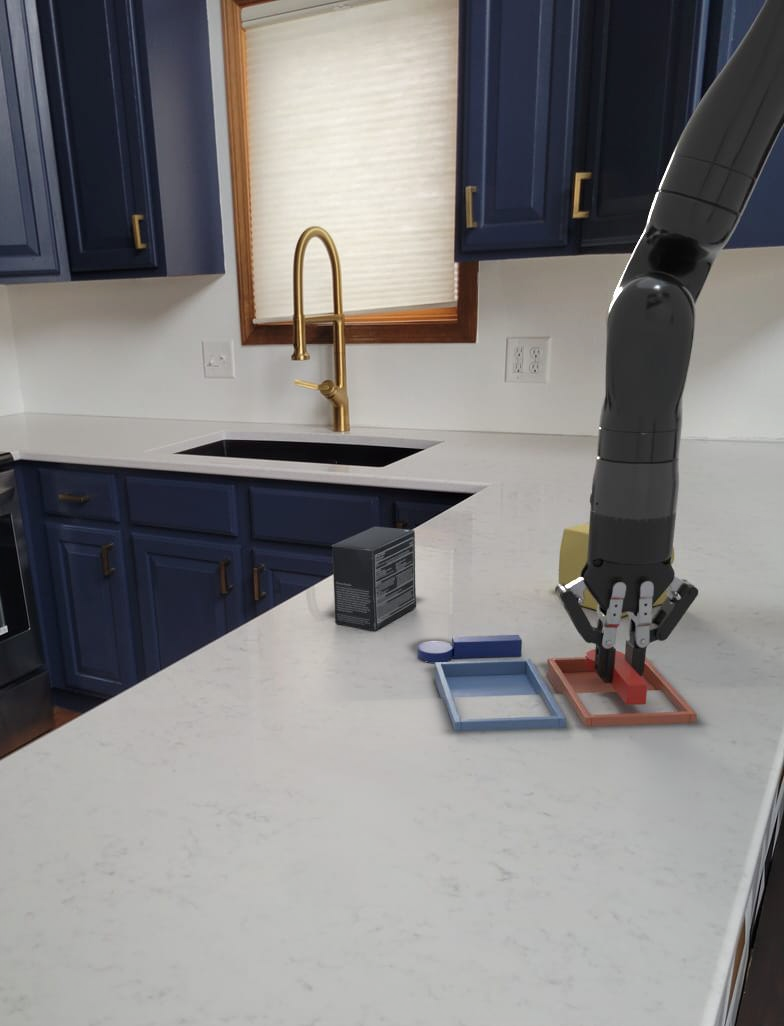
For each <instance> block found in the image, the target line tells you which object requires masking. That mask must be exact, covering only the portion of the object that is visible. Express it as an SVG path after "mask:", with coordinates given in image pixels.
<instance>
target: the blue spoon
mask: <svg viewBox="0 0 784 1026" xmlns="http://www.w3.org/2000/svg"><path fill="white" fill-rule="evenodd" d="M522 648H523V640H522V638H521V636H520V635H519V634H500V635H474V636H473V635H472V636H471V635H469V636H452V637H451V643H449V642H448V641H447V642H446V641H441V640H427V641H424V642H421V643H419V644H417V658H418V660H420V659H421V660H420V661H422V660H423V661H422V662H424V661H427V662H426V663H429V662H434V663H433V664H435V662H445V661H447V662H449V661H452V659H454V658H458V659H481V658H482V659H484V658H507V657H509V658H510V657H512V658H513V657H522ZM448 660H449V661H448Z"/></svg>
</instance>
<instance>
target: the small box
mask: <svg viewBox="0 0 784 1026" xmlns="http://www.w3.org/2000/svg"><path fill="white" fill-rule="evenodd" d="M415 532H416V531H415V529H406V528H396V527H395V528H394V527H385V526H376V525H375V526H373V527H370V528H368V529H366V530H364V531H362V532H359V533H357V534H354V535H352V536H350V537H347V538H346V539H343V540H340V541H338V542H336V543H334V544H332V545H331V553H332V554H331V555H332V574H333V576H332V577H333V596H334V599H333V600H334V623H335V624H338V625H342V626H346V627H347V626H348V627H353V628H357V629H363V630H368V631H374V632H376V631H379V630H380V629H381V628H383V627H385V626H386V625H388V624H390V623H392V622H393V621H396V619H398V618H400V617H402V616H404V615H405V614H407V613H409V612H410V611H412V610H413V609H415V608H417V595H416V593H417V592H416V591H417V590H416V538H415V537H416V536H415V535H416V533H415ZM391 621H392V622H391ZM379 628H380V629H379ZM375 630H376V631H375Z"/></svg>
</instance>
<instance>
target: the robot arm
mask: <svg viewBox="0 0 784 1026" xmlns="http://www.w3.org/2000/svg"><path fill="white" fill-rule="evenodd" d="M783 128H784V0H765V1H764V4H763V5H762V7H761V9H760V11H759V12H758V14H757V15H756V17H755V19H754V21H753V22H752V24H751V26H750V28H749V29H748V31H747V32H746V34H745V35H744V37H743V39H742V40H741V42H740V43H739V45H738V47H736V49H735V51H734V52H733V54H732V55H731V57H730V58H729V59H728V61H727V62H726V64H725V65H724V67H723V68H722V69H721V70H720V72H719V73H718V74H717V76H716V78H714V80H713V82H712V83H711V84H710V86H709V88H708V89H707V90H706V92H705V93H704V95H702V98H700V100H699V103H698V104H697V105H696V107H695V109H694V110H693V112H692V114H691V115H690V117H689V119H688V121H687V123H686V125H685V126H684V128H683V130H682V133H681V134H680V136H679V139H678V141H677V143H676V146H675V148H674V150H673V152H672V155H671V157H670V159H669V162H668V164H667V166H666V170H665V172H664V175H663V176H662V179H661V181H660V183H659V186H658V188H657V192H656V193H655V196H654V199H653V201H652V203H651V208H650V210H649V214H648V217H647V221H646V225H645V227H644V230H643V233H642V234H641V236H640V239H639V240H638V242H637V244H636V246H635V248H634V250H633V252H632V254H631V257H630V259H629V261H628V262H627V265H626V267H625V268H624V269H625V270H624V271H623V274H622V276H621V278H620V280H619V282H618V284H617V286H616V289H615V291H614V293H613V295H612V297H611V299H610V302H609V305H608V307H607V311H606V318H605V323H606V340H605V341H606V343H605V344H606V346H605V347H606V348H605V379H604V381H605V382H604V388H605V391H604V398H603V401H602V405H601V409H600V416H599V424H598V435H597V448H596V449H597V450H596V452H597V453H596V461H595V467H594V471H593V475H592V483H591V492H590V495H589V505H590V508H589V509H590V510H589V522H590V523H589V522H588V523H589V537H588V551H587V562H586V564H585V566H584V568H583V569H582V571H581V577H580V578H578V579H576V580H574V581H573V582H571V583H569V584H567V585H565V584H563V583H561V584H559V583H558V584H557V585H556V586H555V589H554V592H555V594H556V595H557V598H558V599H559V601H560V603H561V604H562V607H563V608H564V610H565V612H566V613H567V615H568V617H569V619H570V621H571V622H572V625H573V626H574V628H575V630H576V631H577V633H578V634H579V636H580V637H581V638H582V639H583V641H584V642H585V643H587V644H594V645H595V649H596V650H595V663H594V669H595V671H596V673H597V675H598V676H599V677H600V678H601V679H602V680H603V682H604V683H612V681H613V670H614V666H615V654H616V651H617V649H616V647H615V645H616V638H617V631H618V627H619V626H620V624H621V618H622V617H621V613H624V612H628V615H627V616H628V638H629V639H628V640H625V649H624V654H625V660H626V661H627V662H628V663H629V665H630V666H631V667H632V668H633V669H634V670H635V671H636V672H637V673H638V675H639V676H642V675H643V673H644V666H645V657H647V656H646V655H647V648H648V646H649V645H650V644H651V643H653V642H656V641H659V642H660V641H661V642H663V641H666V640H667V639H668V638H669V636H670V635H671V634H672V632H673V631H674V629H675V628H676V627H677V625H678V624H679V622H681V620H682V618H683V617H684V616H685V614H686V612H687V611H688V610H689V608H690V607H691V605H692V604H693V602H694V601H695V599H697V597H698V596H699V589H698V588H697V587H696V586H695V585H694V584H693V583H691V582H690V581H688V580H687V579H684V578H683V579H682V578H679V577H677V576H676V573H675V569H674V568H673V564H671V556H672V550H673V548H674V541H675V540H674V539H675V530H676V529H675V528H676V519H677V510H678V500H679V489H680V472H679V471H680V469H679V460H680V458H679V457H680V448H681V437H682V427H683V397H684V392H685V388H686V383H687V378H688V373H689V368H690V364H691V358H692V352H693V345H694V339H695V330H696V319H697V312H696V305H697V302H698V299H699V297H700V295H701V292H702V290H703V289H704V286H705V284H706V282H707V279H708V277H709V275H710V273H711V270H712V267H713V266H714V263H715V260H716V259H717V257H718V255H719V253H720V252H721V251H722V250H723V249H724V248H725V246H726V245H727V243H728V242H729V241H730V239H731V237H732V235H733V234H734V232H735V230H736V228H737V226H738V224H739V222H740V220H741V217H742V216H743V214H744V211H745V209H746V207H747V205H748V202H749V201H750V198H751V196H752V194H753V192H754V190H755V187H756V185H757V182H758V181H759V178H760V176H761V174H762V172H763V170H764V167H765V165H766V163H767V161H768V159H769V156H770V154H771V153H772V150H773V148H774V146H775V144H776V142H777V140H778V137H779V135H780V133H781V131H782V129H783ZM586 588H587V589H588V590H589V592H590V593H591V595H592V596H593V598H594V599H595V600H596V602H597V603H598V606H597V610H596V619H597V620H596V626H592V624H591V623H590V621H589V619H588V617H587V615H586V613H585V611H584V609H583V607H582V606H581V605H580V604H582V603H583V602H584V599H585V598H584V590H585V589H586ZM667 588H668V589H667ZM666 589H667V591H666V595H667V598H666V600H665V601H664V602H663V604H660V607H659V608H658V610H657V611H656V613H654V615H653V606H652V605H653V604H654V603H655V602H656V601H657V599H658V598H659V597H660V596H661V595H662V594H663V592H664V591H665V590H666Z"/></svg>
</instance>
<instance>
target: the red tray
mask: <svg viewBox="0 0 784 1026" xmlns="http://www.w3.org/2000/svg"><path fill="white" fill-rule="evenodd" d="M546 664H547V665H546V676H547V678H548V680H549V681H550V683H551V685H552V687H553V688H554V689H555V691H556V693H557V694H558V695H565V697H566V699H567V701H568V702H569V704H570V705H571V706H572V708H573V710H574V711H575V713H576V715H577V716H578V718H579V720H580V721H581V723H582V725H584V727H604V726H607V727H608V726H631V725H632V726H633V725H635V726H636V725H637V726H638V725H661V724H662V725H663V724H664V725H666V724H689V723H690V724H692V723H697V712H696V711H695V709H693V708H692V707H691V706H690V704H689V703H688V702H687V701H686V700H685V699H684V697H682V696H681V694H680V693H679V692H678V691H677V690H676V689H675V688H674V686H673V685H671V683H669V681H668V680H667V679H666V678H665V677H664V676H663V674H662V673H661V672H660V671H659V669H657V668H656V667H655V666H654V664H653V663H651V661H650V660H649V659H648V658H647V656H645V666H644V673H643V675H642V676H640V677H641V678H642V679H643V680H644V681H645V683H646V684H647V692H649V691H661V692H662V693H663V694H664V695H665V697H666V698H667V699H668V700H669V701H670V702H671V703H672V705H673V706H674V707H675V708H676V709H677V711H660V712H659V711H658V712H634V713H633V712H631V713H606V714H605V713H603V714H601V713H600V714H590V713H589V711H588V709H587V707H585V705H584V703H583V702H582V700H581V699H580V697H579V695H578V694H589V693H590V694H591V693H592V694H593V693H617V692H616V691H615V689H614V688H613V687H612V686H611V684H610V683H604V682H603V680H602V679H601V678H600V677H599V676H598V675H597V673H596V672H595V671H592V670H589V669H588V668H587V667H586V666H585V656H579V657H578V656H575V657H554V658H553V657H549V658H547V662H546Z"/></svg>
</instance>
